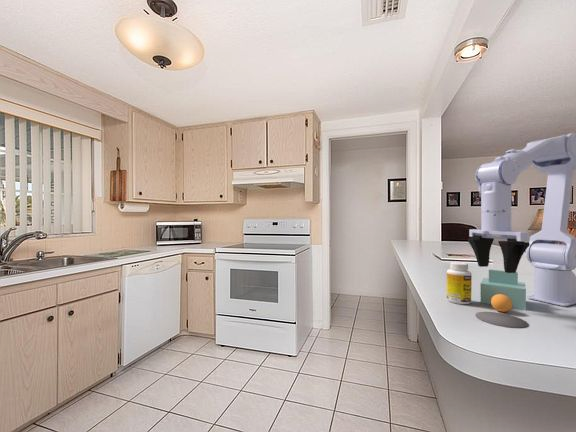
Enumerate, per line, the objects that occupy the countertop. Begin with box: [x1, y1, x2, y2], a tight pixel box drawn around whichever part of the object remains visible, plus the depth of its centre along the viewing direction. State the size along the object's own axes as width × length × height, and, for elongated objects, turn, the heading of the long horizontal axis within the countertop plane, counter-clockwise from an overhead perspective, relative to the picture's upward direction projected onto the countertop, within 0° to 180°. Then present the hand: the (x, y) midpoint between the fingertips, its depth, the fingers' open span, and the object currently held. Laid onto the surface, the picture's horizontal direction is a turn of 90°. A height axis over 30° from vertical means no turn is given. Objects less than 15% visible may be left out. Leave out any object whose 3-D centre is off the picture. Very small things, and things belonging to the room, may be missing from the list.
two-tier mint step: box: [480, 268, 527, 311], centre depth 73 cm, size 9×9×8 cm
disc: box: [475, 311, 529, 329], centre depth 60 cm, size 9×9×1 cm
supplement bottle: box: [446, 261, 473, 305], centre depth 73 cm, size 6×6×10 cm
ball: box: [490, 294, 513, 313], centre depth 65 cm, size 4×4×4 cm
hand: (496, 269), depth 65 cm, fingers open, 7 cm apart
